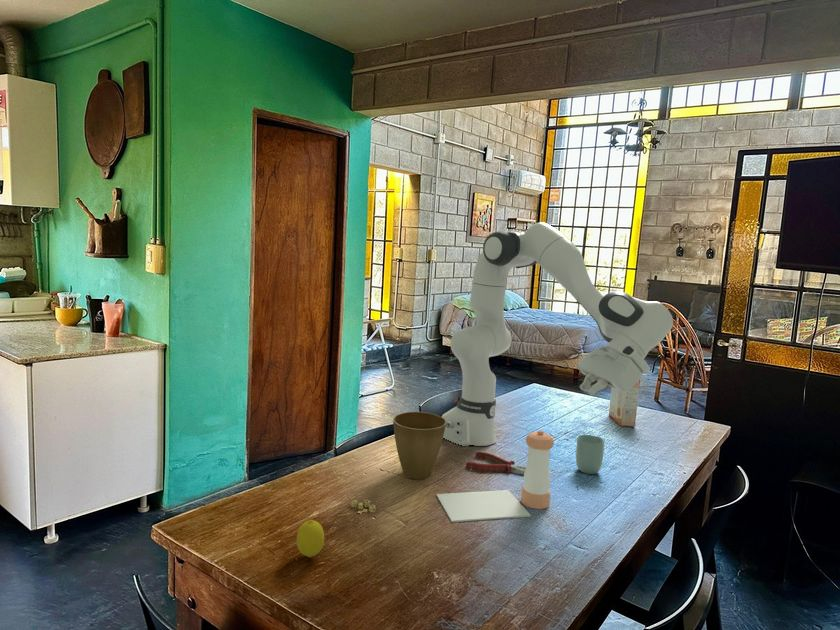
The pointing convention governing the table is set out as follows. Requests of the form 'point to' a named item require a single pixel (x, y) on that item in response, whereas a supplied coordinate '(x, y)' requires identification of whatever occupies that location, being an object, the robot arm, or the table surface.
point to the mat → (481, 505)
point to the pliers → (495, 465)
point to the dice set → (360, 505)
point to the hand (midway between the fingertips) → (585, 391)
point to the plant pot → (418, 441)
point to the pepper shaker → (537, 471)
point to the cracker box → (624, 405)
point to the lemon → (310, 538)
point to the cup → (589, 453)
